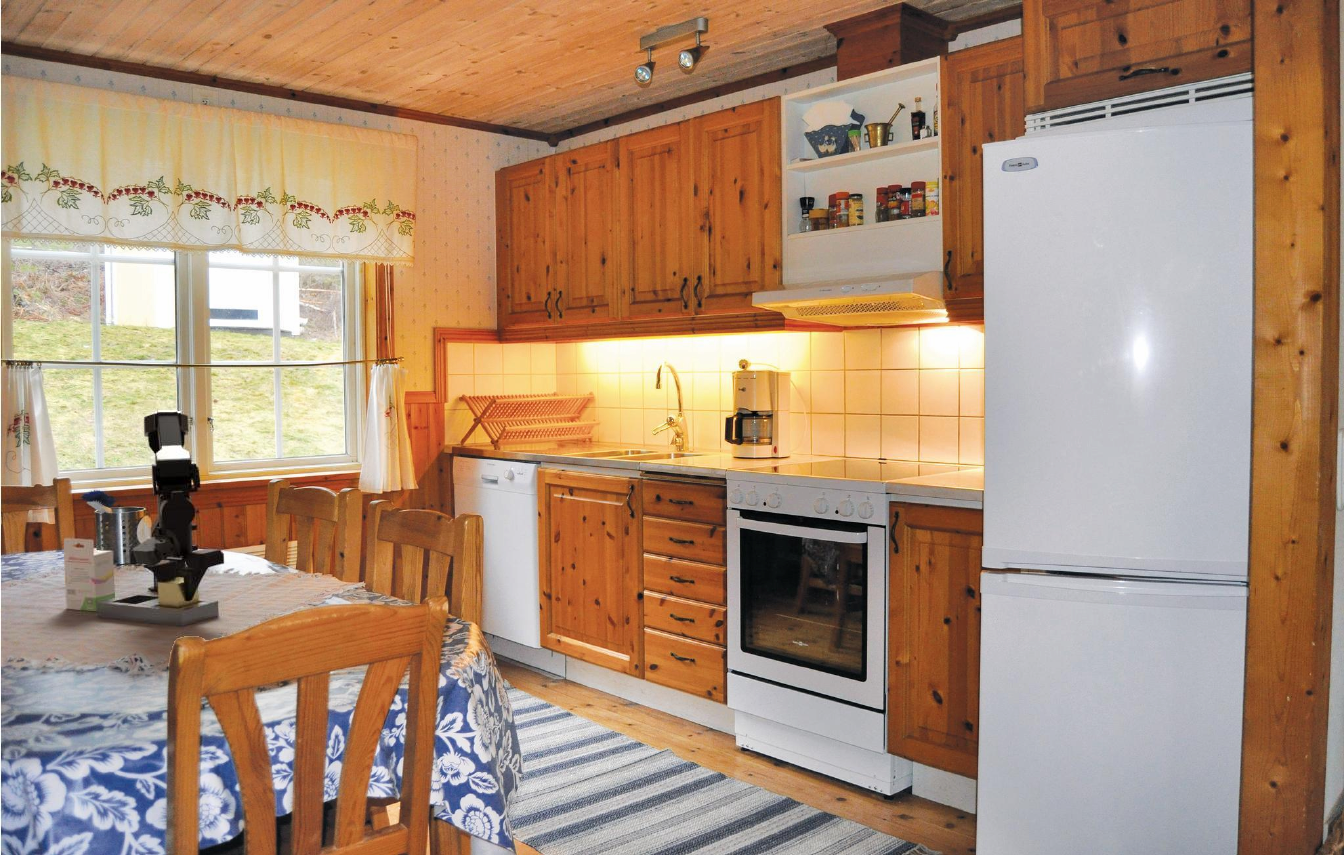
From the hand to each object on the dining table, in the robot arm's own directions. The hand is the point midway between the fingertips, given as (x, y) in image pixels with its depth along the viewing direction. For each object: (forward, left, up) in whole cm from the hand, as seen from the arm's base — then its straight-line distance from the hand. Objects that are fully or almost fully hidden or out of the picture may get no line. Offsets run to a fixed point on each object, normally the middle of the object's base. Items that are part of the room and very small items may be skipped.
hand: (178, 599), depth 198 cm
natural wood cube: (0, 0, -1) cm, 1 cm away
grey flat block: (-5, 0, -4) cm, 7 cm away
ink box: (-25, +1, -4) cm, 25 cm away
